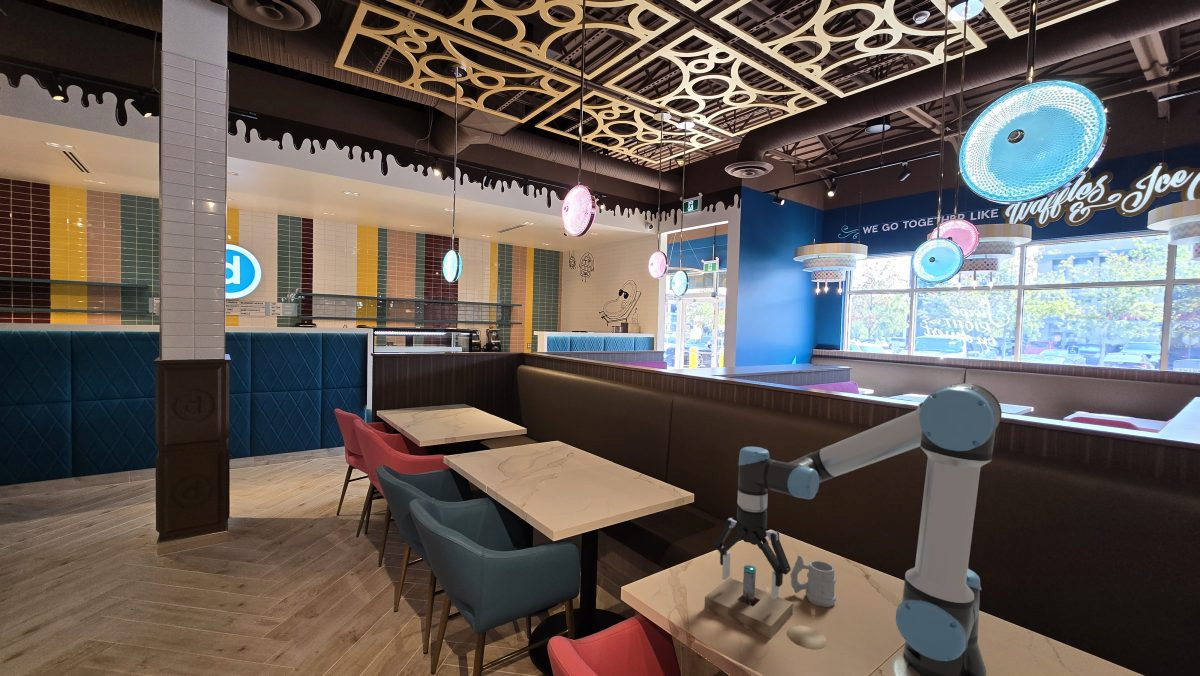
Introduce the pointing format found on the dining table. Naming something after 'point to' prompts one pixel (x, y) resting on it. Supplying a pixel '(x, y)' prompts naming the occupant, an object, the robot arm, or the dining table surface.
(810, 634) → the coaster
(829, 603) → the mug
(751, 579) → the peg
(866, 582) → the dining table surface
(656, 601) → the dining table surface
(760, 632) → the hole board
